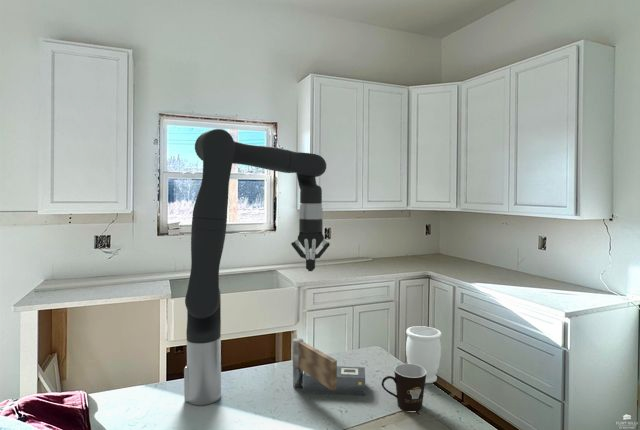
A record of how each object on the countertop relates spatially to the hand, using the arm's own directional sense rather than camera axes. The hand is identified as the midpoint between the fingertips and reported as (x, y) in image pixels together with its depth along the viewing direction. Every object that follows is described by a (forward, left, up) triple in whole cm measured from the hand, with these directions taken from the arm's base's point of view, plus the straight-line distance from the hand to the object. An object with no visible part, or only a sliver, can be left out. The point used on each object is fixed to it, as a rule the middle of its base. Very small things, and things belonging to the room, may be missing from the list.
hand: (310, 270), depth 127 cm
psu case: (+8, -11, -33) cm, 36 cm away
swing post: (-3, -11, -33) cm, 35 cm away
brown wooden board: (+3, -17, -27) cm, 32 cm away
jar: (+36, -2, -33) cm, 49 cm away
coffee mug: (+28, -19, -33) cm, 47 cm away
